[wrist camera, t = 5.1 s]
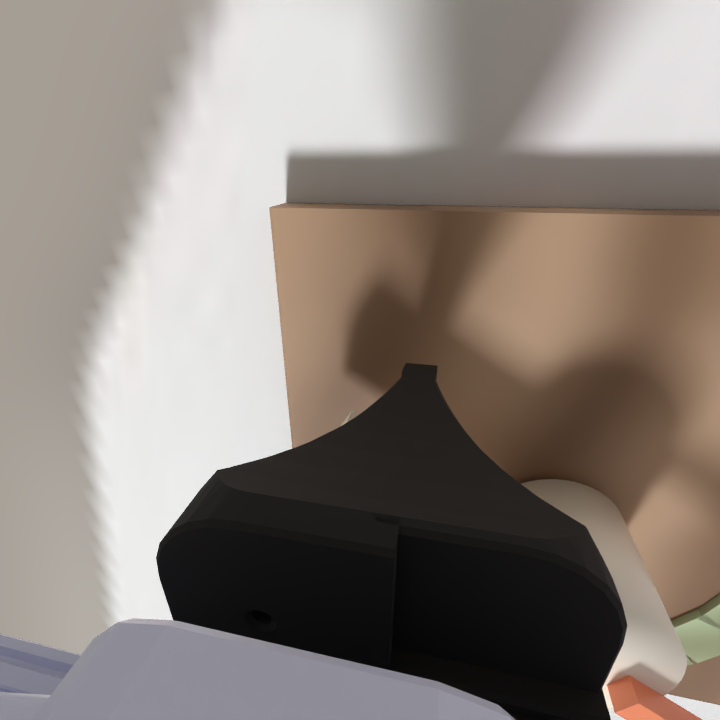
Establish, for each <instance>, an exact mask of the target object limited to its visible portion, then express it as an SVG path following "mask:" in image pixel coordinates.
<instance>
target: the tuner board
mask: <svg viewBox="0 0 720 720" xmlns="http://www.w3.org/2000/svg"><path fill="white" fill-rule="evenodd" d="M269 208H270V219H271V229H272V239H273V250H274V260H275V271H276V281H277V292H278V302H279V312H280V323H281V333H282V344H283V354H284V365H285V375H286V385H287V396H288V406H289V417H290V427H291V438H292V448H295V447H298V446H300V445H303V444H305V443H308V442H310V441H312V440H314V439H316V438H318V437H320V436H322V435H324V434H326V433H328V432H330V431H332V430H335V429H337V428H338V427H340V425H341V424H342V423H343V421H344V420H345V419H346V417H347V416H348V415H349V413H350V412H351V411H352V410H353V411H354V412H356V413H357V414H360V413H362V412H363V411H365V410H366V409H367V408H368V407H369V406H371V405H372V404H373V403H374V402H376V401H377V400H378V399H379V398H380V397H381V396H383V395H384V394H385V393H386V392H387V391H388V390H389V389H390V388H391V387H392V386H393V385H394V384H395V383H396V382H397V381H398V380H399V379H400V378H401V377H402V370H403V368H404V366H405V364H406V363H414V364H425V365H436V366H438V367H437V378H436V382H437V384H438V386H439V389H440V391H441V393H442V395H443V397H444V399H445V400H446V402H447V404H448V406H449V408H450V409H451V411H452V412H453V414H454V416H455V417H456V419H457V420H458V422H459V423H460V424H461V426H462V427H463V429H464V430H465V431H466V432H467V434H468V435H469V436H470V437H471V439H472V440H473V441H474V442H475V443H476V444H477V446H478V447H479V448H480V449H481V450H482V451H483V452H484V453H485V454H486V455H487V456H488V457H489V458H490V459H492V460H493V461H494V462H495V463H496V464H497V465H498V466H499V467H500V468H501V469H503V470H504V471H505V472H506V473H507V474H509V475H510V476H511V477H512V478H514V479H515V480H516V481H517V482H519V483H520V484H522V483H525V482H529V481H534V480H543V479H559V480H568V481H573V482H577V483H581V484H584V485H587V486H589V487H591V488H594V489H596V490H597V491H599V492H601V493H602V494H604V495H605V496H606V497H608V498H609V499H610V500H611V501H612V502H613V503H614V504H615V505H616V506H617V508H618V509H619V511H620V513H621V515H622V517H623V519H624V521H625V523H626V525H627V527H628V530H629V532H630V534H631V536H632V538H633V540H634V543H635V545H636V547H637V549H638V551H639V553H640V555H641V558H642V560H643V562H644V564H645V566H646V568H647V571H648V573H649V575H650V577H651V579H652V581H653V584H654V586H655V588H656V590H657V592H658V594H659V596H660V599H661V601H662V603H663V605H664V607H665V609H666V612H667V614H668V616H669V618H670V620H671V622H672V625H673V627H674V629H675V631H676V633H677V635H678V637H679V640H680V642H681V644H682V646H683V648H684V650H685V654H686V658H687V667H686V671H685V674H684V676H683V678H682V680H681V681H680V682H679V684H678V685H677V686H676V687H675V688H674V689H672V690H671V691H670V692H669V693H667V694H670V695H675V696H680V697H684V698H689V699H694V700H699V701H703V702H708V703H713V704H718V705H720V211H717V210H659V209H601V208H543V207H485V206H427V205H369V204H311V203H284V204H280V205H277V206H273V207H269Z"/></svg>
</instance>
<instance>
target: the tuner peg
mask: <svg viewBox="0 0 720 720" xmlns="http://www.w3.org/2000/svg"><path fill="white" fill-rule="evenodd" d="M358 415H359V414H357V413H356V412H354V411H353V410H352V411H351V412H350V413H349V415H348V416H347V417H346V419H345V420H344V421H343V423H342V424H341V425H340V426H342V425H344V424H345V423H347V422H348V421H350V420H352V419H353V418H355V417H356V416H358ZM521 485H523V486H524V487H526V488H527V489H528V490H530V491H531V492H532V493H534V494H535V495H536V496H538V497H539V498H541V499H542V500H544V501H546V502H547V503H549V504H550V505H552V506H554V507H555V508H557V509H558V510H560V511H562V512H563V513H565V514H567V515H568V516H570V517H571V518H573V519H575V520H576V521H578V522H579V523H581V524H583V525H584V526H586V528H587V529H588V531H589V533H590V535H591V537H592V539H593V541H594V542H595V544H596V546H597V548H598V550H599V552H600V554H601V556H602V558H603V560H604V562H605V564H606V566H607V568H608V570H609V572H610V574H611V576H612V578H613V581H614V583H615V586H616V588H617V591H618V594H619V596H620V599H621V602H622V605H623V609H624V613H625V617H626V621H627V630H626V634H625V639H624V643H623V646H622V648H621V650H620V652H619V654H618V656H617V658H616V660H615V662H614V664H613V667H612V669H611V671H610V673H609V675H608V677H607V679H606V681H605V683H604V686H603V688H602V689H603V693H604V697H605V700H606V704H607V708H608V709H614V712H615V713H616V714H618V715H619V716H621V717H623V718H624V719H626V720H702V719H700V718H698V717H697V716H695V715H694V714H692V713H690V712H689V711H687V710H685V709H684V708H682V707H681V706H679V705H677V704H676V703H674V702H672V701H671V700H669V699H667V698H666V697H664V695H665V694H667V693H669V692H670V691H671V690H672V689H674V688H675V687H676V686H677V685H678V684H679V682H680V681H681V680H682V678H683V676H684V674H685V671H686V667H687V658H686V654H685V650H684V648H683V646H682V644H681V642H680V640H679V637H678V635H677V633H676V631H675V629H674V627H673V625H672V622H671V620H670V618H669V616H668V614H667V612H666V609H665V607H664V605H663V603H662V601H661V599H660V596H659V594H658V592H657V590H656V588H655V586H654V584H653V581H652V579H651V577H650V575H649V573H648V571H647V568H646V566H645V564H644V562H643V560H642V558H641V555H640V553H639V551H638V549H637V547H636V545H635V543H634V540H633V538H632V536H631V534H630V532H629V530H628V527H627V525H626V523H625V521H624V519H623V517H622V515H621V513H620V511H619V509H618V508H617V506H616V505H615V504H614V503H613V502H612V501H611V500H610V499H609V498H608V497H606V496H605V495H604V494H602V493H601V492H599V491H597V490H596V489H594V488H591V487H589V486H587V485H584V484H581V483H577V482H573V481H568V480H559V479H543V480H534V481H529V482H525V483H522V484H521Z"/></svg>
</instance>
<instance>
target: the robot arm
mask: <svg viewBox="0 0 720 720" xmlns="http://www.w3.org/2000/svg"><path fill="white" fill-rule="evenodd" d="M437 367H438V366H436V365H425V364H414V363H406V364H405V366H404V368H403V370H402V377H401V378H400V379H399V380H398V381H397V382H396V383H395V384H394V385H393V386H392V387H391V388H390V389H389V390H388V391H387V392H386V393H385V394H384V395H383V396H381V397H380V398H379V399H378V400H377V401H376V402H374V403H373V404H372V405H371V406H369V407H368V408H367V409H366V410H365V411H363V412H362V413H360V414H359V415H358V416H356V417H355V418H353V419H352V420H350V421H348V422H347V423H345V424H344V425H342V426H340V427H338V428H337V429H335V430H332V431H330V432H328V433H326V434H324V435H322V436H320V437H318V438H316V439H314V440H312V441H310V442H308V443H305V444H303V445H300V446H298V447H295V448H293V449H290V450H287V451H285V452H282V453H279V454H276V455H273V456H270V457H267V458H263V459H260V460H256V461H252V462H249V463H245V464H241V465H237V466H233V467H230V468H225V469H221V470H217V471H216V472H215V474H214V475H213V476H212V477H211V478H210V479H209V480H208V482H207V483H206V484H205V485H204V486H203V487H202V488H201V489H200V491H199V492H198V493H197V495H196V496H195V497H194V499H193V500H192V501H191V503H190V504H189V505H188V507H187V508H186V509H185V511H184V512H183V513H182V515H181V516H180V517H179V518H178V520H177V521H176V522H175V524H174V525H173V526H172V528H171V529H170V530H169V532H168V533H167V534H166V536H165V537H164V538H163V540H162V541H161V542H160V544H159V549H158V553H157V557H156V559H157V566H158V572H159V577H160V581H161V584H162V587H163V590H164V593H165V596H166V599H167V602H168V605H169V608H170V611H171V614H172V617H173V620H174V621H172V620H153V619H130V620H126V621H122V622H118V623H116V624H115V625H113V626H112V627H110V628H109V629H107V630H106V631H104V632H103V633H101V634H100V635H98V636H97V637H95V638H94V639H93V640H92V641H91V643H90V644H89V645H88V647H87V648H86V649H85V651H84V652H83V653H82V654H81V655H80V654H77V653H73V652H69V651H65V650H61V649H57V648H53V647H50V646H46V645H42V644H39V643H35V642H31V641H27V640H23V639H20V638H15V637H12V636H8V635H4V634H0V720H611V719H610V715H609V711H608V708H607V704H606V700H605V697H604V693H603V689H602V688H603V686H604V683H605V681H606V679H607V677H608V675H609V673H610V671H611V669H612V667H613V664H614V662H615V660H616V658H617V656H618V654H619V652H620V650H621V648H622V646H623V643H624V639H625V634H626V630H627V621H626V617H625V613H624V609H623V605H622V602H621V599H620V596H619V594H618V591H617V588H616V586H615V583H614V581H613V578H612V576H611V574H610V572H609V570H608V568H607V566H606V564H605V562H604V560H603V558H602V556H601V554H600V552H599V550H598V548H597V546H596V544H595V542H594V541H593V539H592V537H591V535H590V533H589V531H588V529H587V528H586V526H584V525H583V524H581V523H579V522H578V521H576V520H575V519H573V518H571V517H570V516H568V515H567V514H565V513H563V512H562V511H560V510H558V509H557V508H555V507H554V506H552V505H550V504H549V503H547V502H546V501H544V500H542V499H541V498H539V497H538V496H536V495H535V494H534V493H532V492H531V491H530V490H528V489H527V488H526V487H524V486H523V485H521V484H520V483H519V482H517V481H516V480H515V479H514V478H512V477H511V476H510V475H509V474H507V473H506V472H505V471H504V470H503V469H501V468H500V467H499V466H498V465H497V464H496V463H495V462H494V461H493V460H492V459H490V458H489V457H488V456H487V455H486V454H485V453H484V452H483V451H482V450H481V449H480V448H479V447H478V446H477V444H476V443H475V442H474V441H473V440H472V439H471V437H470V436H469V435H468V434H467V432H466V431H465V430H464V429H463V427H462V426H461V424H460V423H459V422H458V420H457V419H456V417H455V416H454V414H453V412H452V411H451V409H450V408H449V406H448V404H447V402H446V400H445V399H444V397H443V395H442V393H441V391H440V389H439V386H438V384H437V382H436V378H437Z"/></svg>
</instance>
